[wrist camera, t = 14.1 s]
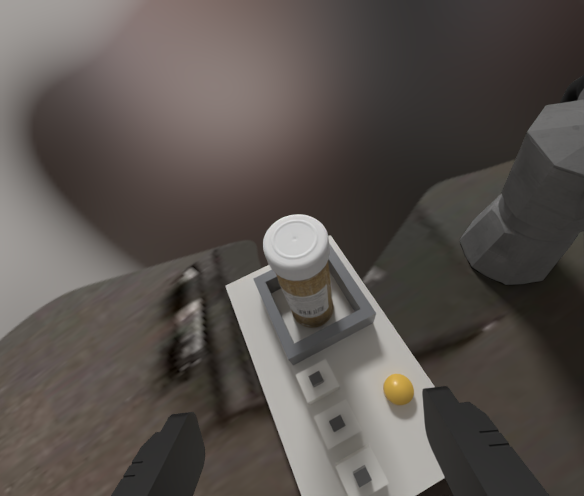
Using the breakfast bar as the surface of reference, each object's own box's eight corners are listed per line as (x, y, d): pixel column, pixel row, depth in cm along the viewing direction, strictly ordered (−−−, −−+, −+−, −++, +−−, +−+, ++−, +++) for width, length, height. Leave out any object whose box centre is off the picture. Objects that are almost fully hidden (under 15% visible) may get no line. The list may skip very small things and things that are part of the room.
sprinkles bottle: (336, 291, 31) (333, 214, 20) (330, 333, 29) (323, 272, 17) (295, 285, 32) (270, 209, 21) (286, 325, 30) (253, 263, 18)
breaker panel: (330, 241, 36) (329, 217, 32) (474, 453, 23) (503, 459, 19) (229, 291, 35) (213, 272, 30) (323, 545, 22) (318, 575, 18)
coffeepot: (560, 315, 28) (821, 185, 13) (454, 291, 31) (564, 161, 15) (546, 198, 35) (703, 24, 20) (461, 187, 38) (541, 27, 23)
